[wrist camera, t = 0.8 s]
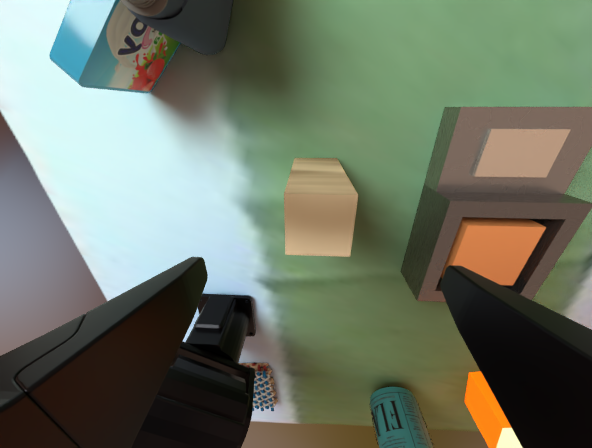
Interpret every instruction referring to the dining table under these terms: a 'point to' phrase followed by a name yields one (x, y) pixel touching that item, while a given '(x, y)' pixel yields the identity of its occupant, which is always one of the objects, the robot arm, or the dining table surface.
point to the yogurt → (110, 47)
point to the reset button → (494, 246)
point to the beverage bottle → (398, 419)
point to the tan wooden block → (319, 208)
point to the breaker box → (499, 186)
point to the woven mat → (262, 386)
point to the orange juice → (488, 414)
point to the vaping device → (187, 21)
